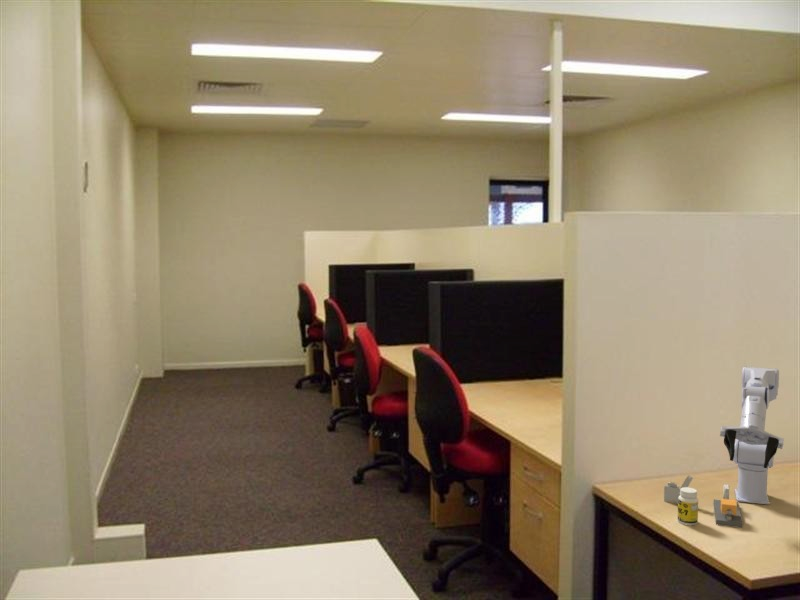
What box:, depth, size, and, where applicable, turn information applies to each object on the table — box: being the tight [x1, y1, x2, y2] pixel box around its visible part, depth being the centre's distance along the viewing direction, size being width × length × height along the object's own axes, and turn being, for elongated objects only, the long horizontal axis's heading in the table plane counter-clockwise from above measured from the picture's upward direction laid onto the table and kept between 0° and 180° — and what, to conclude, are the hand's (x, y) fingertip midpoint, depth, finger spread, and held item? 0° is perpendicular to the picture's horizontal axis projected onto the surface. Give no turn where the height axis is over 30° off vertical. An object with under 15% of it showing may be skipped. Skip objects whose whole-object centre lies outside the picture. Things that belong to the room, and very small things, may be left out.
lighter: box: [663, 474, 694, 505], centre depth 201 cm, size 7×2×8 cm, turn 55°
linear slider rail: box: [713, 484, 743, 528], centre depth 192 cm, size 15×6×6 cm, turn 159°
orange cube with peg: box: [720, 498, 737, 515], centre depth 188 cm, size 5×4×2 cm, turn 159°
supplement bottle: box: [677, 486, 699, 526], centre depth 188 cm, size 5×5×8 cm
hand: (748, 461), depth 184 cm, fingers open, 7 cm apart
